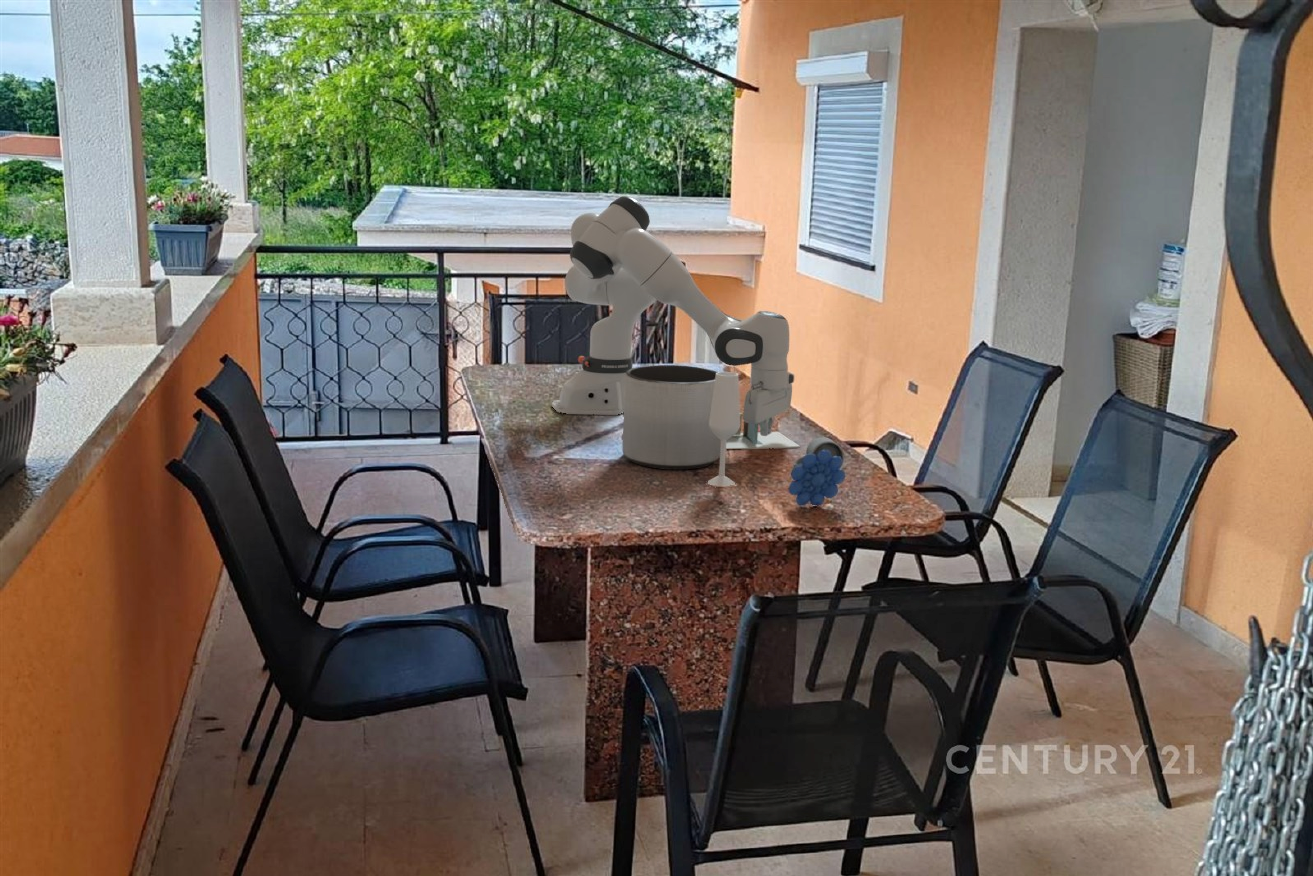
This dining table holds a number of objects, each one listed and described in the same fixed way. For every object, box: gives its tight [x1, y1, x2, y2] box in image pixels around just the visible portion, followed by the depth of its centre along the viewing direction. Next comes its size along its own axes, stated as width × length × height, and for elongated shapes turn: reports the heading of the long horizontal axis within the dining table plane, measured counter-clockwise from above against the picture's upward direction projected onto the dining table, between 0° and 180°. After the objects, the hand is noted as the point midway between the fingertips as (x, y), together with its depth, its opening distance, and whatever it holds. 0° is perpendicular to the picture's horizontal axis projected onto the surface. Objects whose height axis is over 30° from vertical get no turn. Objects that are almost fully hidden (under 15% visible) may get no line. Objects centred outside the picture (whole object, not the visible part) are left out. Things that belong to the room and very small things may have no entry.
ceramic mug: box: [792, 436, 845, 468], centre depth 276 cm, size 11×8×8 cm
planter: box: [621, 364, 721, 470], centre depth 280 cm, size 23×23×20 cm
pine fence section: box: [734, 412, 748, 437], centre depth 303 cm, size 13×2×7 cm, turn 105°
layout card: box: [726, 431, 801, 450], centre depth 301 cm, size 21×15×1 cm
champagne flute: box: [707, 371, 741, 486], centre depth 260 cm, size 7×7×24 cm
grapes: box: [788, 450, 846, 507], centre depth 248 cm, size 12×7×12 cm, turn 99°
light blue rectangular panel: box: [748, 423, 759, 444], centre depth 299 cm, size 8×1×5 cm, turn 7°
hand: (765, 434), depth 297 cm, fingers closed
